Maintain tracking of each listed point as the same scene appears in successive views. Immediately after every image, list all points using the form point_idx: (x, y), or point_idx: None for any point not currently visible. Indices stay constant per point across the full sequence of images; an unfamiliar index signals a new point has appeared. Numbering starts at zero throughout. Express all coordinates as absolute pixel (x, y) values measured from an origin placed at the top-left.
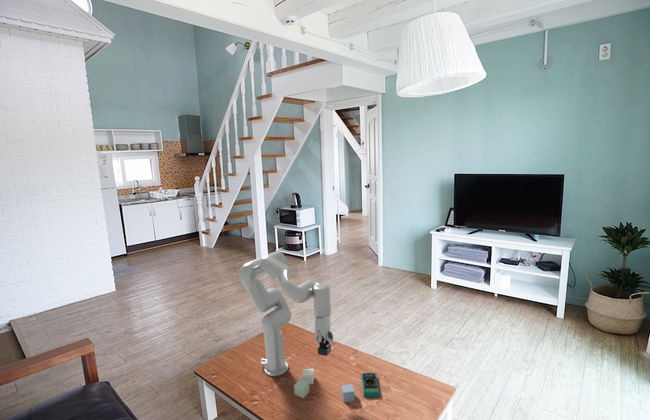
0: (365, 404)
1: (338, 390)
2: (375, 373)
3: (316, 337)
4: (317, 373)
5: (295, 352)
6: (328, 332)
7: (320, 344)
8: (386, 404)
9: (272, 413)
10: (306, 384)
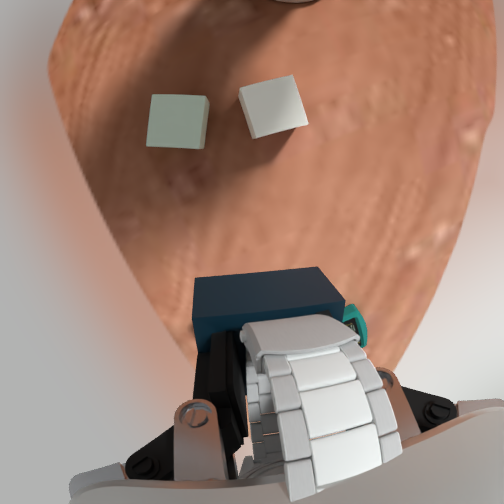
0: None
1: (257, 257)
2: (365, 345)
3: (105, 485)
4: (327, 129)
5: (405, 6)
6: None
7: (212, 374)
8: None
9: (58, 96)
10: (180, 146)
